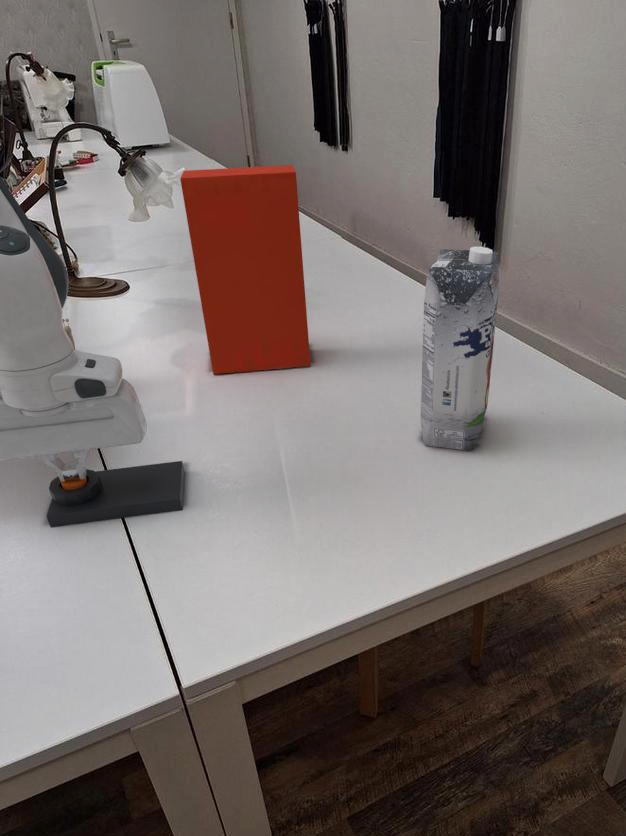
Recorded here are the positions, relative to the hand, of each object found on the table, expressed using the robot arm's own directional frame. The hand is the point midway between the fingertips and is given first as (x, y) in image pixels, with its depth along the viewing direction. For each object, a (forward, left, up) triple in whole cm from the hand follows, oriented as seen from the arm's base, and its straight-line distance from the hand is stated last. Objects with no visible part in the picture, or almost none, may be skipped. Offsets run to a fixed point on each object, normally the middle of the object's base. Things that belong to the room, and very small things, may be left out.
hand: (74, 478), depth 82 cm
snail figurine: (-5, +34, -4) cm, 34 cm away
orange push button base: (+5, 0, -4) cm, 6 cm away
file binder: (+26, +39, -4) cm, 47 cm away
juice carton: (+52, +6, -4) cm, 52 cm away
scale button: (0, 0, -2) cm, 2 cm away
